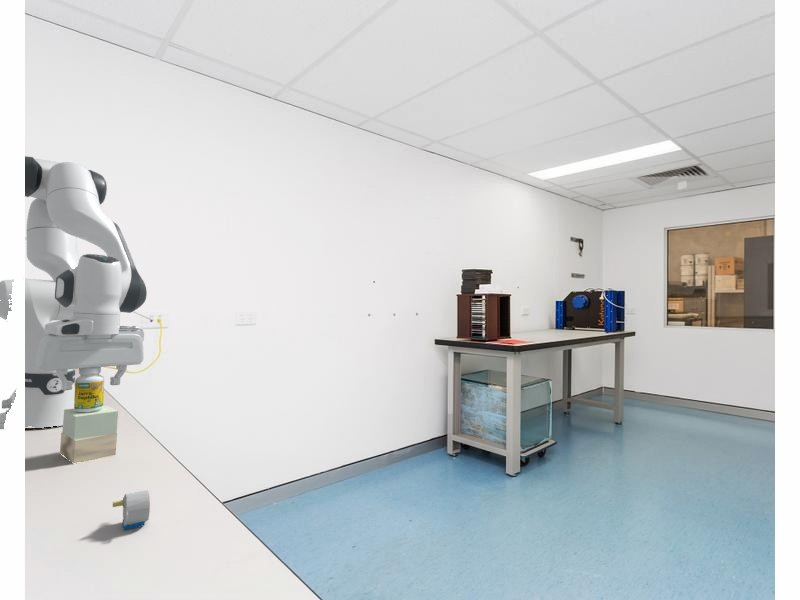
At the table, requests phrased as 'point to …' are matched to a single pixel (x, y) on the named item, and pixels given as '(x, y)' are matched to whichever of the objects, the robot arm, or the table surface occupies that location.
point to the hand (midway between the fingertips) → (91, 387)
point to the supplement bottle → (89, 390)
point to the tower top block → (90, 423)
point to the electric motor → (134, 509)
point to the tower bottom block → (88, 447)
